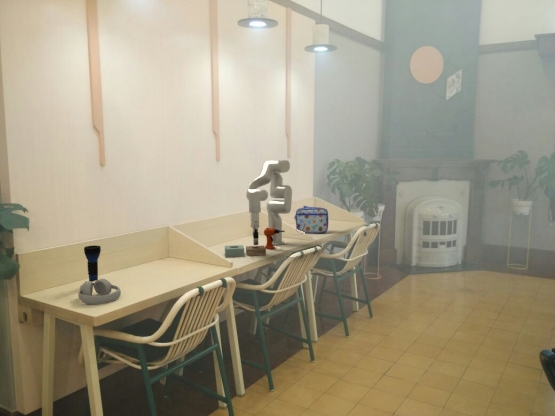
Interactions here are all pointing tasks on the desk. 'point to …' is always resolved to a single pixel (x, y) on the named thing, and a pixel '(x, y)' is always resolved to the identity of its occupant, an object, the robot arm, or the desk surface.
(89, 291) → the headphones
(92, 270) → the flashlight
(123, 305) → the desk surface
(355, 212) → the desk surface
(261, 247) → the socket block
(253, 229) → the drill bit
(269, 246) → the toy drill
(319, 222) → the lunch box
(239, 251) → the rack holder
